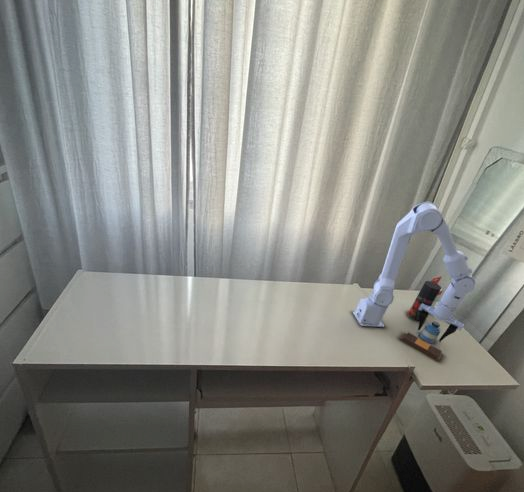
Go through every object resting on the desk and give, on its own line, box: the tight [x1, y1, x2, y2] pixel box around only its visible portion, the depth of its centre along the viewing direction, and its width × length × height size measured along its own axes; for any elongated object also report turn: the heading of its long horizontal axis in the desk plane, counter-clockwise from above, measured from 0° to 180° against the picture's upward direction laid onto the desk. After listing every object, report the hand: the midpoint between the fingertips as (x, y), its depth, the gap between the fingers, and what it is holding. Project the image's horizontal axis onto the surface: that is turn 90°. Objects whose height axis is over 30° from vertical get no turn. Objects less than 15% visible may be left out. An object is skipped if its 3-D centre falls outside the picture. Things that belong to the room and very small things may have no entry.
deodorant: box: [407, 280, 442, 323], centre depth 122 cm, size 6×6×15 cm
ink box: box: [430, 276, 444, 308], centre depth 129 cm, size 4×8×15 cm, turn 125°
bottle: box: [419, 321, 442, 344], centre depth 114 cm, size 5×5×7 cm
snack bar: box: [399, 332, 444, 362], centre depth 109 cm, size 14×4×2 cm, turn 49°
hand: (429, 334), depth 114 cm, fingers open, 7 cm apart
